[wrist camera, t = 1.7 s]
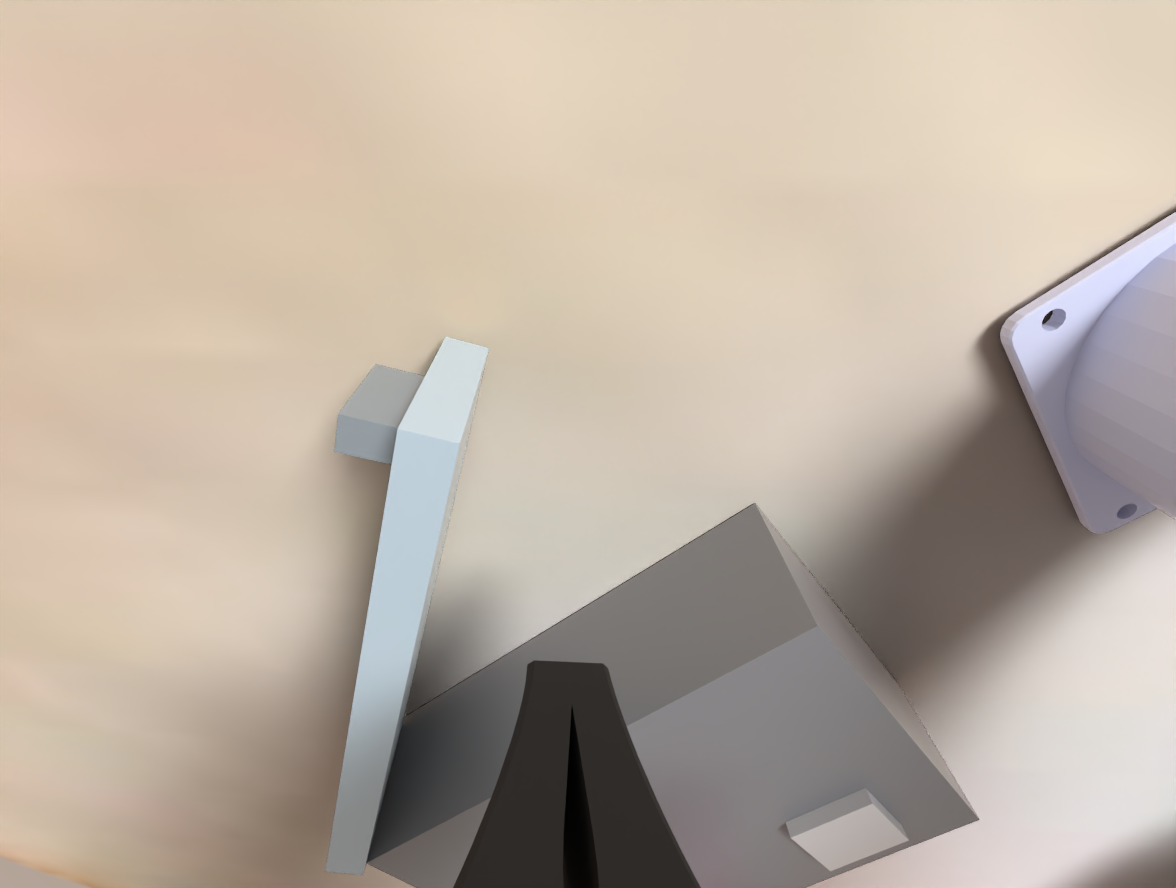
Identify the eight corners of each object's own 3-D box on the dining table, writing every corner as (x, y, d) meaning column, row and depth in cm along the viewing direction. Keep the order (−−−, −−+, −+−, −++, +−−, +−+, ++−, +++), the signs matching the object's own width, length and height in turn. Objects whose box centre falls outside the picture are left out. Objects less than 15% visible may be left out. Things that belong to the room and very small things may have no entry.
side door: (392, 322, 13) (319, 410, 9) (489, 348, 13) (460, 443, 9) (335, 715, 19) (278, 866, 15) (401, 725, 20) (363, 875, 16)
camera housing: (755, 503, 16) (825, 640, 12) (898, 684, 20) (988, 835, 16) (380, 731, 20) (332, 894, 16) (561, 843, 24) (562, 997, 20)
